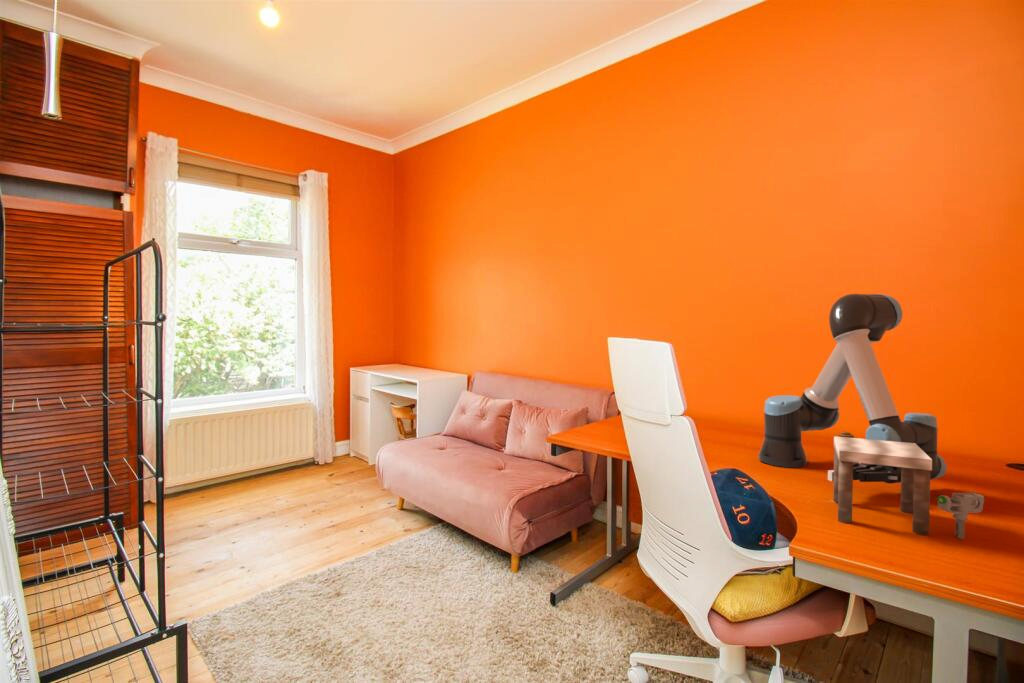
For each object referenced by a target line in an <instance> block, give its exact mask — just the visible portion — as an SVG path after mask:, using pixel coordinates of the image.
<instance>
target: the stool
mask: <svg viewBox="0 0 1024 683" xmlns="http://www.w3.org/2000/svg"><path fill="white" fill-rule="evenodd" d="M834 447H835V450H836V453H837V456H838V458H839V475H838V502H837V521H838V522H840V523H843V524H852V523H853V500H854V499H853V495H854V494H853V493H854V492H853V491H854V490H853V485H854V480H853V463H854V462H857V463H861V464H876V465H886V466H895V467H901V482H900V512H901V513H903V512H904V514H907V513H908V514H909V515H912V533H914V534H916V535H919V536H929V535H930V509H931V508H930V502H931V480H930V470H932V459H931V458H930V457H929V456H928V455H927V454H926V453H925V452H924V451H923V450H922V449H921V448H920V447H919V446H917V445H916V444H915V443H906V442H894V441H883V440H871V439H866V438H859V437H858V438H856V437H855V438H848V437H837V435H836V436H833V448H834ZM908 514H907V515H908Z"/></svg>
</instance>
